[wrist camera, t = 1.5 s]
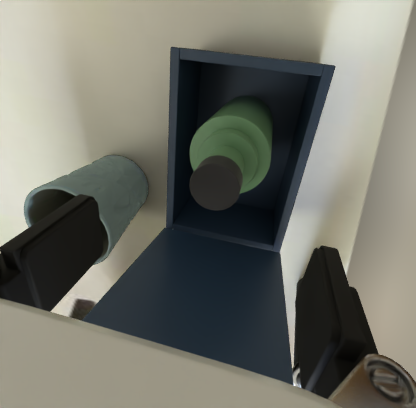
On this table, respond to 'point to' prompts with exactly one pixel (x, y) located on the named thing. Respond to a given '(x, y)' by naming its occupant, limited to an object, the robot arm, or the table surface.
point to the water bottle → (231, 152)
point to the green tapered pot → (95, 195)
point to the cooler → (281, 139)
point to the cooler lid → (204, 302)
